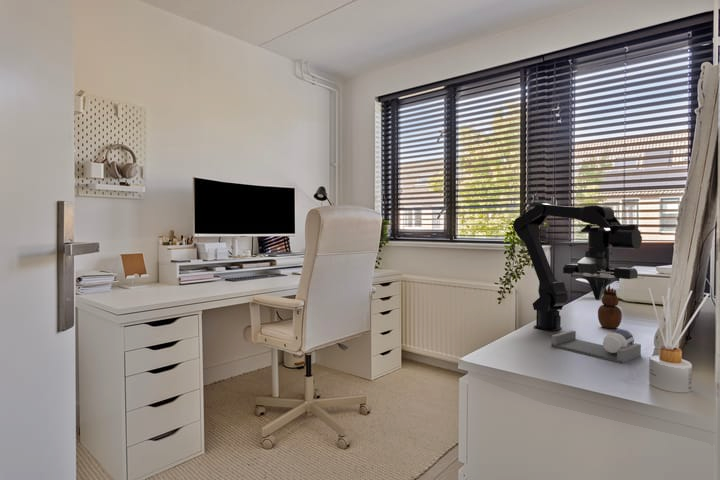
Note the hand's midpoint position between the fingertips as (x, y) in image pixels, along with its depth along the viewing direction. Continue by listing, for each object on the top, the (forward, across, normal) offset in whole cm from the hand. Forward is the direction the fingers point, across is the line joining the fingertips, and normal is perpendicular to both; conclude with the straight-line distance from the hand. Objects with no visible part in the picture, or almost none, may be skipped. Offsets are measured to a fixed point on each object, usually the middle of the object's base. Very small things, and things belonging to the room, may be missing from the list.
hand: (597, 299), depth 121 cm
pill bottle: (+9, +9, -6) cm, 14 cm away
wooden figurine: (+12, -5, +20) cm, 24 cm away
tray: (+12, +5, -12) cm, 18 cm away
